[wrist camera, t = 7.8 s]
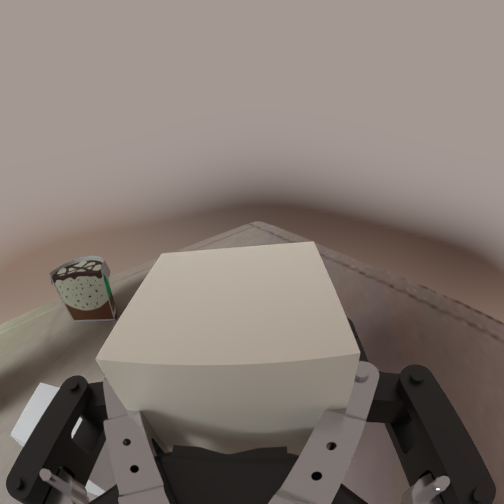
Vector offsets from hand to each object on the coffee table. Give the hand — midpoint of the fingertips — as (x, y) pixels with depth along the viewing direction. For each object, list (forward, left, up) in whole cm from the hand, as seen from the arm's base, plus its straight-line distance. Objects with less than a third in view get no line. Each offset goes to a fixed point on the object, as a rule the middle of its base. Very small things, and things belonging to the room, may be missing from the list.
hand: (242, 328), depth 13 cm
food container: (-40, -4, -18) cm, 44 cm away
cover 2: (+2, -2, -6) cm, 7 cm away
